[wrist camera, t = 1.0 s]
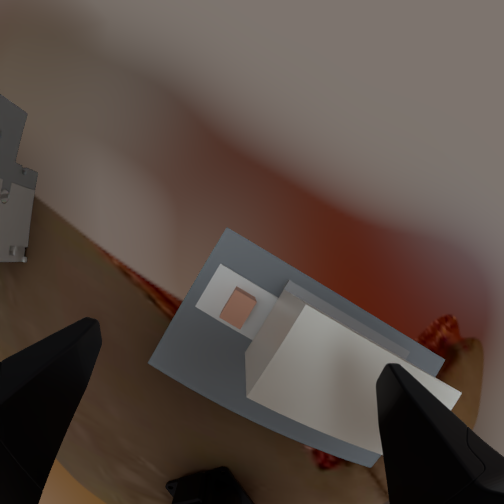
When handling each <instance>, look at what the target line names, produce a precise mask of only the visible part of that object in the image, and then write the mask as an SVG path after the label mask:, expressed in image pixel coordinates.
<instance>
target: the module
mask: <svg viewBox="0 0 504 504" xmlns="http://www.w3.org/2000/svg"><path fill="white" fill-rule="evenodd" d="M283 289H284V290H283V292H282V293H281V295H280V297H279V298H278V300H277V302H276V303H275V305H274V307H273V308H272V310H271V311H270V313H269V315H268V316H267V318H266V320H265V321H264V323H263V325H262V326H261V328H260V329H259V331H258V333H257V334H256V336H255V337H254V339H253V341H252V342H251V344H250V345H249V347H248V349H247V350H246V352H245V369H246V397H247V398H249V399H251V400H253V401H255V402H257V403H259V404H261V405H263V406H265V407H267V408H269V409H271V410H273V411H275V412H277V413H279V414H282V415H284V416H286V417H288V418H290V419H292V420H295V421H297V422H299V423H301V424H304V425H306V426H308V427H311V428H313V429H315V430H318V431H320V432H322V433H325V434H327V435H330V436H332V437H335V438H337V439H340V440H342V441H345V442H348V443H350V444H353V445H355V446H358V447H361V448H364V449H366V450H369V451H372V452H375V453H378V454H381V455H383V451H382V445H381V439H380V433H379V425H378V412H377V398H376V382H377V379H378V377H379V376H380V374H381V372H382V370H383V368H384V367H385V365H386V364H387V363H398V364H400V365H401V366H402V367H403V368H404V369H406V370H407V371H408V372H409V373H410V374H411V375H412V376H413V377H414V378H415V379H417V380H418V381H419V382H420V383H421V384H422V385H423V386H424V387H425V388H426V389H428V390H429V391H430V392H431V393H432V394H433V395H434V396H435V397H436V398H437V399H438V400H440V401H441V402H442V403H443V404H444V405H445V406H446V407H447V408H448V409H449V410H450V411H451V410H452V408H453V407H454V405H455V403H456V402H457V400H458V399H459V397H460V395H461V394H462V393H461V392H459V391H457V390H456V389H454V388H452V387H451V386H449V385H447V384H445V383H444V382H442V381H440V380H439V379H437V378H435V377H434V376H432V375H430V374H429V373H427V372H425V371H423V370H422V369H420V368H418V367H417V366H415V365H413V364H412V363H410V362H408V361H407V360H406V358H407V356H408V355H409V353H410V351H408V350H406V349H405V348H403V347H401V346H400V345H398V344H396V343H394V342H393V341H391V340H389V339H388V338H386V337H384V336H383V335H381V334H379V333H378V332H376V331H374V330H373V329H371V328H369V327H367V326H366V325H364V324H362V323H361V322H359V321H357V320H356V319H354V318H352V317H351V316H349V315H347V314H346V313H344V312H342V311H340V310H339V309H337V308H335V307H334V306H332V305H330V304H329V303H327V302H325V301H324V300H322V299H320V298H319V297H317V296H315V295H314V294H312V293H310V292H309V291H307V290H305V289H304V288H302V287H300V286H298V285H297V284H295V283H293V282H292V281H290V280H288V281H287V282H286V284H285V286H284V287H283Z"/></svg>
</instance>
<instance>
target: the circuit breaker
mask: <svg viewBox="0 0 504 504" xmlns="http://www.w3.org/2000/svg"><path fill="white" fill-rule="evenodd" d="M26 118H27V113H26V112H25V111H23V110H22V109H21V108H19V107H18V106H16V105H15V104H14V103H12V102H11V101H9V100H8V99H7V98H5V97H4V96H2V95H1V94H0V262H27V257H24V253H25V247H28V240H29V230H30V221H31V214H32V206H33V200H34V193H35V187H36V182H37V176H38V173H37V172H35V171H33V170H31V169H29V168H23V167H22V165H20V164H17V163H16V162H15V161H16V157H17V152H18V148H19V144H20V140H21V136H22V132H23V129H24V125H25V121H26Z"/></svg>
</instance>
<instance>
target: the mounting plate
mask: <svg viewBox="0 0 504 504" xmlns="http://www.w3.org/2000/svg"><path fill="white" fill-rule="evenodd" d="M288 280H290V281H292V282H293V283H295V284H297V285H298V286H300V287H302V288H304V289H305V290H307V291H309V292H310V293H312V294H314V295H315V296H317V297H319V298H320V299H322V300H324V301H325V302H327V303H329V304H330V305H332V306H334V307H335V308H337V309H339V310H340V311H342V312H344V313H346V314H347V315H349V316H351V317H352V318H354V319H356V320H357V321H359V322H361V323H362V324H364V325H366V326H367V327H369V328H371V329H373V330H374V331H376V332H378V333H379V334H381V335H383V336H384V337H386V338H388V339H389V340H391V341H393V342H394V343H396V344H398V345H400V346H401V347H403V348H405V349H406V350H408V351H410V353H409V355H408V356H407V358H406V360H407V361H408V362H410V363H412V364H413V365H415V366H417V367H418V368H420V369H422V370H423V371H425V372H427V373H429V374H430V375H432V376H434V377H436V375H437V373H438V371H439V370H440V368H441V366H442V365H443V363H444V361H445V359H443V358H441V357H440V356H438V355H436V354H435V353H433V352H432V351H430V350H428V349H427V348H425V347H423V346H422V345H420V344H419V343H417V342H415V341H414V340H412V339H411V338H409V337H407V336H406V335H404V334H402V333H401V332H399V331H397V330H396V329H394V328H392V327H391V326H389V325H388V324H386V323H384V322H383V321H381V320H380V319H378V318H376V317H375V316H373V315H371V314H370V313H368V312H366V311H365V310H363V309H362V308H360V307H358V306H357V305H355V304H353V303H352V302H350V301H348V300H347V299H345V298H343V297H342V296H340V295H339V294H337V293H335V292H334V291H332V290H330V289H328V288H327V287H325V286H324V285H322V284H320V283H319V282H317V281H315V280H314V279H312V278H310V277H309V276H307V275H305V274H304V273H302V272H300V271H299V270H297V269H296V268H294V267H292V266H291V265H289V264H287V263H286V262H284V261H282V260H281V259H279V258H277V257H276V256H274V255H272V254H271V253H269V252H267V251H266V250H264V249H262V248H260V247H259V246H257V245H256V244H254V243H252V242H251V241H249V240H247V239H246V238H244V237H242V236H241V235H239V234H237V233H236V232H234V231H232V230H230V229H229V228H226V229H225V231H224V233H223V234H222V236H221V238H220V239H219V241H218V243H217V244H216V246H215V248H214V249H213V251H212V253H211V254H210V256H209V258H208V259H207V261H206V263H205V264H204V266H203V268H202V270H201V271H200V273H199V274H198V276H197V278H196V280H195V281H194V283H193V285H192V286H191V288H190V290H189V292H188V293H187V295H186V297H185V298H184V300H183V302H182V304H181V305H180V307H179V309H178V311H177V312H176V314H175V316H174V318H173V319H172V321H171V323H170V325H169V326H168V328H167V330H166V332H165V333H164V335H163V337H162V339H161V340H160V342H159V344H158V346H157V348H156V349H155V351H154V353H153V355H152V357H151V358H150V360H149V362H148V364H150V365H152V366H153V367H155V368H156V369H158V370H160V371H161V372H163V373H164V374H166V375H168V376H169V377H171V378H173V379H174V380H176V381H178V382H179V383H181V384H183V385H185V386H186V387H188V388H190V389H192V390H193V391H195V392H197V393H199V394H201V395H202V396H204V397H206V398H208V399H210V400H212V401H213V402H215V403H217V404H219V405H221V406H223V407H225V408H227V409H229V410H231V411H233V412H235V413H237V414H239V415H241V416H243V417H245V418H247V419H249V420H251V421H253V422H255V423H257V424H259V425H262V426H264V427H266V428H268V429H270V430H273V431H275V432H277V433H279V434H282V435H284V436H286V437H289V438H291V439H293V440H296V441H298V442H300V443H303V444H305V445H308V446H310V447H313V448H316V449H318V450H321V451H323V452H326V453H329V454H331V455H334V456H337V457H340V458H343V459H345V460H348V461H351V462H354V463H357V464H360V465H363V466H367V467H370V468H371V467H372V466H373V464H374V463H375V462H376V461H377V460H378V458H379V457H380V456H381V454H378V453H375V452H372V451H369V450H366V449H364V448H361V447H358V446H355V445H353V444H350V443H348V442H345V441H342V440H340V439H337V438H335V437H332V436H330V435H327V434H325V433H322V432H320V431H318V430H315V429H313V428H311V427H308V426H306V425H304V424H301V423H299V422H297V421H295V420H292V419H290V418H288V417H286V416H284V415H282V414H279V413H277V412H275V411H273V410H271V409H269V408H267V407H265V406H263V405H261V404H259V403H257V402H255V401H253V400H251V399H249V398H247V397H246V369H245V352H246V350H247V349H248V347H249V345H250V344H251V342H252V341H253V339H254V337H255V336H256V334H257V333H258V331H259V329H260V328H261V326H262V325H263V323H264V321H265V320H266V318H267V316H268V315H269V313H270V311H271V310H272V308H273V307H274V305H275V303H276V302H277V300H278V298H279V297H280V295H281V293H282V292H283V290H284V289H283V287H284V286H285V284H286V282H287V281H288Z"/></svg>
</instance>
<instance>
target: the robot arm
mask: <svg viewBox="0 0 504 504" xmlns="http://www.w3.org/2000/svg"><path fill="white" fill-rule="evenodd" d="M101 345H102V338H101V331H100V325H99V322H98V320H96V319H93V318H89V317H85V318H83V319H81V320H79V321H77V322H75V323H73V324H71V325H69V326H67V327H65V328H64V329H62V330H60V331H58V332H56V333H54V334H52V335H50V336H48V337H46V338H44V339H42V340H40V341H38V342H37V343H35V344H33V345H31V346H29V347H27V348H25V349H23V350H21V351H19V352H18V353H16V354H14V355H12V356H10V357H8V358H6V359H4V360H3V361H2V362H0V504H38V503H39V500H40V497H41V494H42V490H43V489H44V486H45V483H46V481H47V478H48V476H49V473H50V470H51V468H52V465H53V463H54V460H55V458H56V455H57V453H58V451H59V448H60V446H61V443H62V441H63V439H64V436H65V434H66V432H67V429H68V427H69V425H70V422H71V420H72V418H73V416H74V414H75V411H76V409H77V407H78V405H79V403H80V400H81V398H82V396H83V394H84V392H85V390H86V387H87V385H88V382H89V380H90V377H91V374H92V371H93V368H94V365H95V362H96V359H97V357H98V354H99V351H100V348H101ZM376 398H377V412H378V425H379V433H380V439H381V445H382V451H383V457H384V464H385V471H386V478H387V486H388V494H389V502H390V504H504V457H503V456H502V455H501V454H499V453H498V452H497V451H495V450H494V449H493V448H492V447H490V446H489V445H488V444H487V443H485V442H484V441H483V440H482V439H481V438H480V437H479V436H477V435H476V434H475V433H474V432H473V431H472V430H471V429H470V428H469V427H467V425H466V424H464V423H463V422H462V421H461V420H460V419H459V418H458V417H457V416H456V415H455V414H454V413H453V412H451V411H450V410H449V409H448V408H447V407H446V406H445V405H444V404H443V403H442V402H441V401H440V400H438V399H437V398H436V397H435V396H434V395H433V394H432V393H431V392H430V391H429V390H428V389H426V388H425V387H424V386H423V385H422V384H421V383H420V382H419V381H418V380H417V379H415V378H414V377H413V376H412V375H411V374H410V373H409V372H408V371H407V370H406V369H404V368H403V367H402V366H401V365H400V364H398V363H387V364H386V365H385V367H384V368H383V370H382V372H381V374H380V376H379V377H378V379H377V382H376ZM222 471H224V472H225V473H222ZM170 486H172V487H170ZM166 489H167V490H168V491H169V493H170V494H171V495H172V496H173V501H172V504H254V503H253V502H252V500H251V499H250V498H249V496H248V495H247V494H246V492H245V491H244V490H243V488H242V487H241V486H240V484H239V483H238V482H237V480H236V479H235V478H234V476H233V475H232V473H231V472H230V471H229V469H228V468H226V467H220V468H217V469H213V470H210V471H207V472H201V473H197V474H194V475H190V476H186V477H182V478H179V479H178V480H174V481H169V482H167V483H166Z"/></svg>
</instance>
